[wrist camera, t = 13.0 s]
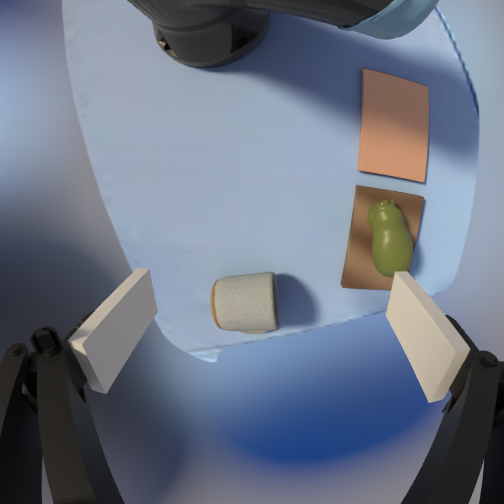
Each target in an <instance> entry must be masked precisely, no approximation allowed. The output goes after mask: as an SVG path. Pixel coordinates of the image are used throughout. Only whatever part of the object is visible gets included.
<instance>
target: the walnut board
mask: <svg viewBox="0 0 504 504" xmlns="http://www.w3.org/2000/svg"><path fill="white" fill-rule="evenodd" d="M391 199H394V201H395V206H396V208H398V209H399V210H400V211H401V213H402V215H403V219H404V225H405V228H406V230H407V231H408V233H409V235H410V237H411V240H412V245H413V253H414V248H415V244H416V239H417V234H418V229H419V224H420V218H421V212H422V206H423V200H424V197H422V196H418V195H413V194H408V193H402V192H397V191H391V190H385V189H378V188H372V187H365V186H358V185H356V190H355V198H354V206H353V214H352V221H351V228H350V235H349V241H348V247H347V253H346V259H345V264H344V270H343V275H342V280H341V286H342V288H358V289H378V290H391V289H392V285H393V280H394V277H386V276H384V275H382V274H381V273H379V271H378V270H377V269H376V267H375V265H374V262H373V257H372V240H373V233H372V227H371V225H370V224H369V222H368V214H369V210H370V207H371V206H373V204H374V203H380V202H382V201H384V200H387V201H389V200H391ZM409 269H410V268H409ZM407 272H408V273H409V270H408V271H407Z"/></svg>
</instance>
